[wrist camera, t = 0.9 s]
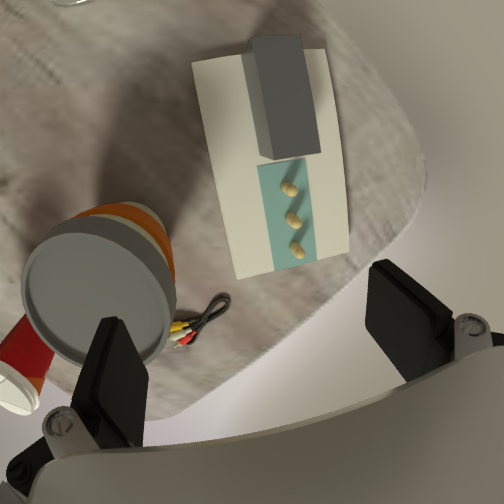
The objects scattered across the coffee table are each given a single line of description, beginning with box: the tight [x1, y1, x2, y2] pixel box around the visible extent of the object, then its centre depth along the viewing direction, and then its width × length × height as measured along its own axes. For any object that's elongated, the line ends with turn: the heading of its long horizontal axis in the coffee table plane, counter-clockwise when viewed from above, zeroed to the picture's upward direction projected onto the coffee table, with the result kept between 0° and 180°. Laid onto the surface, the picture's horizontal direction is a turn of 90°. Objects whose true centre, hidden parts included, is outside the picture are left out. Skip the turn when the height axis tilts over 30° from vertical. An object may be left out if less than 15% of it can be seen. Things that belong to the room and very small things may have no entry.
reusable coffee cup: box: [21, 202, 177, 368], centre depth 25 cm, size 13×12×15 cm
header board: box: [191, 49, 350, 280], centre depth 29 cm, size 24×14×5 cm, turn 10°
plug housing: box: [241, 34, 321, 161], centre depth 24 cm, size 11×4×6 cm, turn 10°
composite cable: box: [167, 296, 230, 348], centre depth 37 cm, size 10×5×2 cm, turn 115°
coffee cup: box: [0, 313, 55, 415], centre depth 27 cm, size 8×8×15 cm
